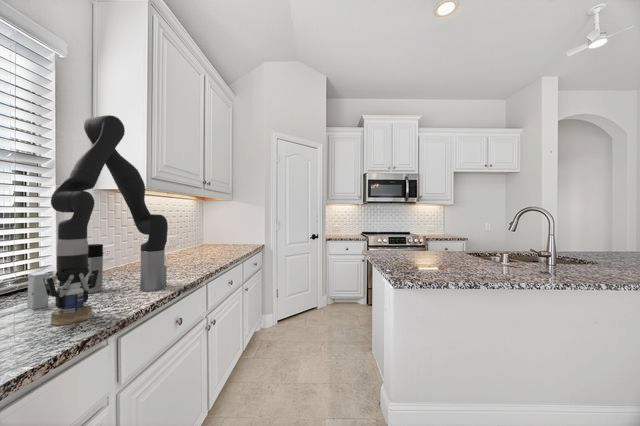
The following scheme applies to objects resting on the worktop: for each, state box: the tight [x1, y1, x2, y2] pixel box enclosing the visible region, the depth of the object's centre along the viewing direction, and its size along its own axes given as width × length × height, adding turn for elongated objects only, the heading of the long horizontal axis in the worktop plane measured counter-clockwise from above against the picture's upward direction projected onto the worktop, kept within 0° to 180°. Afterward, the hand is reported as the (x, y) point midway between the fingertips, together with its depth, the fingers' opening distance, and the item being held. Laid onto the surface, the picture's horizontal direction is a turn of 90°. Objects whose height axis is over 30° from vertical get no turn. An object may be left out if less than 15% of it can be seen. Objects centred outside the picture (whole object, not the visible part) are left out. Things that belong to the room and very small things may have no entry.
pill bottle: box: [61, 282, 85, 313], centre depth 89 cm, size 5×5×10 cm
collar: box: [50, 303, 93, 326], centre depth 89 cm, size 10×10×3 cm
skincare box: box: [26, 270, 51, 310], centre depth 99 cm, size 6×4×12 cm
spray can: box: [85, 243, 104, 295], centre depth 118 cm, size 7×7×20 cm
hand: (72, 305), depth 89 cm, fingers closed on pill bottle, 5 cm apart
